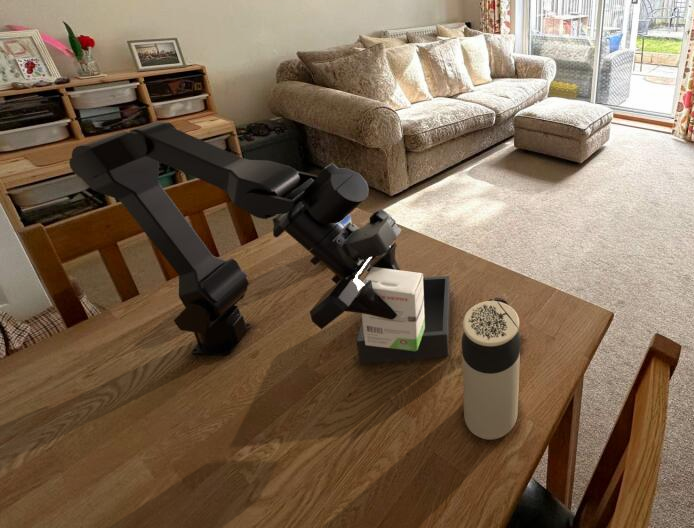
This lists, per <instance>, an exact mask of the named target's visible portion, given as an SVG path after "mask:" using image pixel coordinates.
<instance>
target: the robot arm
mask: <svg viewBox="0 0 694 528" xmlns="http://www.w3.org/2000/svg"><path fill="white" fill-rule="evenodd" d="M160 163H161V164H163V165H166V166H168V167H170V168H172V169H175V170H177V171H179V172H182V173H184V174H187V175H189V176H191V177H193V178H196V179H199V181H202V182H205V183H207V184H209V185H212V186H214V187H217V188H219V189H220V190H222V191H224V192H226V193H227V195H228V197H229V198H230V200H231V202H232V205H234V206H236V207H238V208H239V209H240V210H243V211H245V212H246V213H248V214H250V215H251V216H253V217H254V218H258V219H262V220H267V219H270V218H272V223H273V228H272V233H273V234H272V235H273V237H274V238H279V237H280V236H281V235H282V234H284V233H285V232H286V233H287V234H288V235H289V236H290V237H291V238H293V240H295V241H296V242H297V243H298V244H299V245H301V247H303V248H304V249H305V250H306V251H307V252H309V254H311V255H312V256H313V257H312V258H311V259H310V260H309V262H310V263H311V264H312V265H314V266H317V264H318V263H321V264H322V265H324V266H325V268H327V269H328V270H329V271H330V272H332V273H333V274H334V275H333V277H332V278H331V279H330V280H331V281H332V282H333V283H334V285H333V286H332V287H330V288H329V289H328V290H327V291H326V292H325V293H323V295H321V297H320V298H319V299H318V301H317V302H316V303H315V304H314V305H313V307H311V310H310V311H309V315H310V320H311V321H312V323H313V324H314V325H316V326H317V327H318V328H319V329H321V330H323V329H324V328H325V327H327V326H328V325H329V324H331V323H332V322H333V321H334V320H336V319H337V318H338V317H339V316H341V315H343V314H344V312H349V313H357V314H362V313H364V314H368V315H373V316H377V317H382V318H386V319H390V320H393V319H394V318H396V316H397V314H396V313H395V312H394V311H393V309H392V308H391V307H390V306H389V305H388V304H386V303H385V302H384V301H383V300H382V299H381V298H380V297H379V296H378V295H377V294H376V293H375V292H374V291H373V287H372V282H371V280H370V281H368V282H367V283H366V284H364V283H362V281H361V280H360V279H361V277H362V276H364V274H365V272H367V273H368V272H369V270H370V269H371V267H377V268H385V269H393V270H400V271H401V269H400V267H399V265H398V262H397V260H396V249H397V246H398V243H397V242H394V241H395V240H397V238H398V236H399V235H400V234H401V232H402V230H403V229H402V228H400V227H399V226H398V225H397V224H396V220H395V219H394V218H393V217H392V216H391V214H389V213H388V212H387V211H385V210H384V209H383V208H380V209H377V210H375V211H374V212H373V213H372V214H371V215H370V216H369V222H366V224H365V225H364V226H361V227H358V226H357V225H356V224H355V223H352V222H351V223H352V224H351V223H350V222H349V223H348V224H347V225H346V226H344V225H343V224H342V223H341V222H340V221H342V220H343V219H344V218H345V217H346V216H347V215H351V213H352V212H353V211H354V210H355V209H356V208H358V207H359V205H361V204H362V203H363V202H364V201H365V200H366V199H367V198H368V196H369V192H370V190H369V186H368V183H367V181H366V179H365V178H364V177H363V176H362V175H361V174H360V173H359V172H356V171H354V170H352V169H349V168H346V167H338V166H337V165H336V164H335V163H333V162H331V163H329V164H328V165H327V166H325V167H324V168H323V169H322V170H321V171H320V172H319V173H318V175H317V174H313V173H309V172H304V171H300V170H296V169H295V168H293V167H292V166H289V165H286V164H283V163H279V162H275V161H272V160H268V159H267V160H266V159H262V160H261V159H249V158H244V157H241V156H239V155H237V154H234V153H232V152H229V151H228V150H225V149H223V148H220V147H218V146H217V145H213V144H212V143H209V142H207V141H204V140H202V139H200V138H197V137H195V136H193V135H191V134H189V133H186V132H184V131H181V130H180V129H178V128H176V127H175V125H174V124H172V123H170V122H168V121H161V120H160V121H159V120H158V121H154V122H150V123H147V124H144V125H142V126H138V127H135V128H132V129H130V130H129V131H127V130H125V131H120V132H117V133H114V134H111V135H108V136H104V137H101V138H98V139H96V140H92V141H89V142H86V143H83V144H80V145H77V146H76V147H74V148H73V149H72V151H71V157H70V159H69V162H68V164H69V168H70V169H71V171H72V172H73V173H74V174H75V175H76V176H77V177H79V178H80V179H81V180H82V182H84V183H85V184H86V185H87V186H88V187H89V188H90V189H91V190H92V191H94V192H97V193H99V194H102V195H105V196H108V197H110V198H113V199H116V200H118V202H120V203H121V204H122V205H123V207H124V208H125V209H126V211H127V212H128V213H129V215H130V216H131V217H132V218H133V219H134V221H135V222H136V223H137V225H138V226H139V227H140V228H141V230H142V231H143V233H145V235H146V236H147V237H148V239H149V240H150V241H151V242H152V244H153V246H155V247H156V248H157V250H158V251H159V252H160V254H161V255H162V256H163V257H164V259H165V260H166V261H167V263H168V264H169V265H170V267H171V268H172V269H173V270H174V271H175V272H176V274H177V276H178V297H179V300H180V301H181V302H182V305H183V306H184V309H183V310H182V311H181V312H180V313H179V314H178V315H177V317H175V318H174V320H173V322H174V324H175V325H176V327H177V328H178V329H179V330H180V331H181V332H189V333H193V334H194V337H195V340H196V343H197V344H196V345H195V346H194V348H193V349H192V350H191V355H193V356H229V355H231V354H232V352H233V351H234V350H235V348H236V347H237V346H238V344H239V343H240V342H241V341H242V339H243V338H244V337H245V336H246V334H247V333H248V332H249V330H250V329H251V327H252V324H251V323H250V322H249V323H248V322H245V319H244V315H243V314H242V313H241V312H240V308H239V305H236V304H237V303H238V302H240V301H241V300H242V299H244V297H245V295H246V293H247V291H248V287H249V285H250V284H249V283H250V282H249V280H248V278H247V277H248V274H247V273H246V272H244V271H243V269H241V267H240V265H239V263H238V261H237V260H236V259H234V258H229V259H227V260H226V259H223V258H220V257H218V256H215V255H213V254H212V252H211V251H210V250H209V248H208V247H207V245H206V244H205V242H204V241H203V239H201V237H200V236H199V235H198V233H197V232H196V231H195V229H194V228H193V227H192V225H191V224H190V222H189V221H188V220H187V218H186V217H185V216H184V214H183V213H182V212H181V210H180V209H179V208H178V206H177V205H176V203H175V202H174V201H173V199H171V197H170V196H169V194H168V193H167V192H166V190H165V189H164V188H163V186H162V185H161V184H160V182H159V175H160V174H159V172H160V171H159V170H160V169H159V167H160ZM393 242H394V243H393Z"/></svg>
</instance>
